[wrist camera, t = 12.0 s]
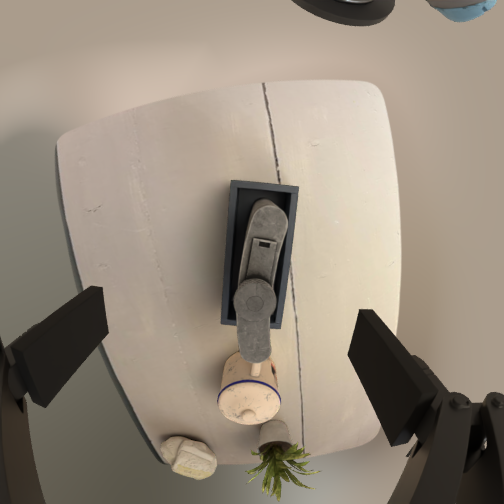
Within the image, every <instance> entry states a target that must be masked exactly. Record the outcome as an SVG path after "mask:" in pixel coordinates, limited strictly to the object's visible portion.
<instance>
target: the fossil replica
mask: <svg viewBox="0 0 504 504" xmlns="http://www.w3.org/2000/svg"><path fill="white" fill-rule="evenodd" d="M160 448H161V451H162V452H163V456H164V458H165V459H166V460H167V461H168V462H169V463H170V464H171V468H172V470H173V471H174V472H177V473H179V474H181V475H184V476H188V477H194V478H195V479H197V480H199V479H204V478H206V477H209V476H211V475H212V474H213V473H214V471H215V468H216V467H217V462H216V455H215V454H214V453H213V452H212V451H211V450H210V449H209V448H208V446H207V445H206V444H204V443H202V442H197V441H193V440H190V439H187V438H186V437H180V436H179V437H178V436H176V437H170V438H169V439H168V440H166V441H164V442H163V443H161V447H160Z"/></svg>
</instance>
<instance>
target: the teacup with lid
mask: <svg viewBox="0 0 504 504" xmlns="http://www.w3.org/2000/svg"><path fill="white" fill-rule="evenodd" d="M217 402H218V406H219V409H220V411H221V412H222V414H223V415H224V416H225V417H227V418H228V419H230V420H231V421H234V422H236V423H240V424H247V425H252V424H259V423H263V422H265V421H267V420H269V419H271V418H272V417H273V416H274V415H275V414H276V413H277V412H278V410H279V408H280V405H281V398H280V395H279V393H278V386H277V377H276V368H275V364H274V362H273V361H272V359H271V358H270V357H269V358H268V359H267V360H265V361H264V362H261V363H250V362H247V361H245V360H244V359H243V358H242V357H241V355H240V352H237V353H235V354H233V355H232V356H230V357H229V358H228V360H227V361H226V363H225V365H224V371H223V377H222V384H221V391H220V393H219V395H218V400H217Z"/></svg>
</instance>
